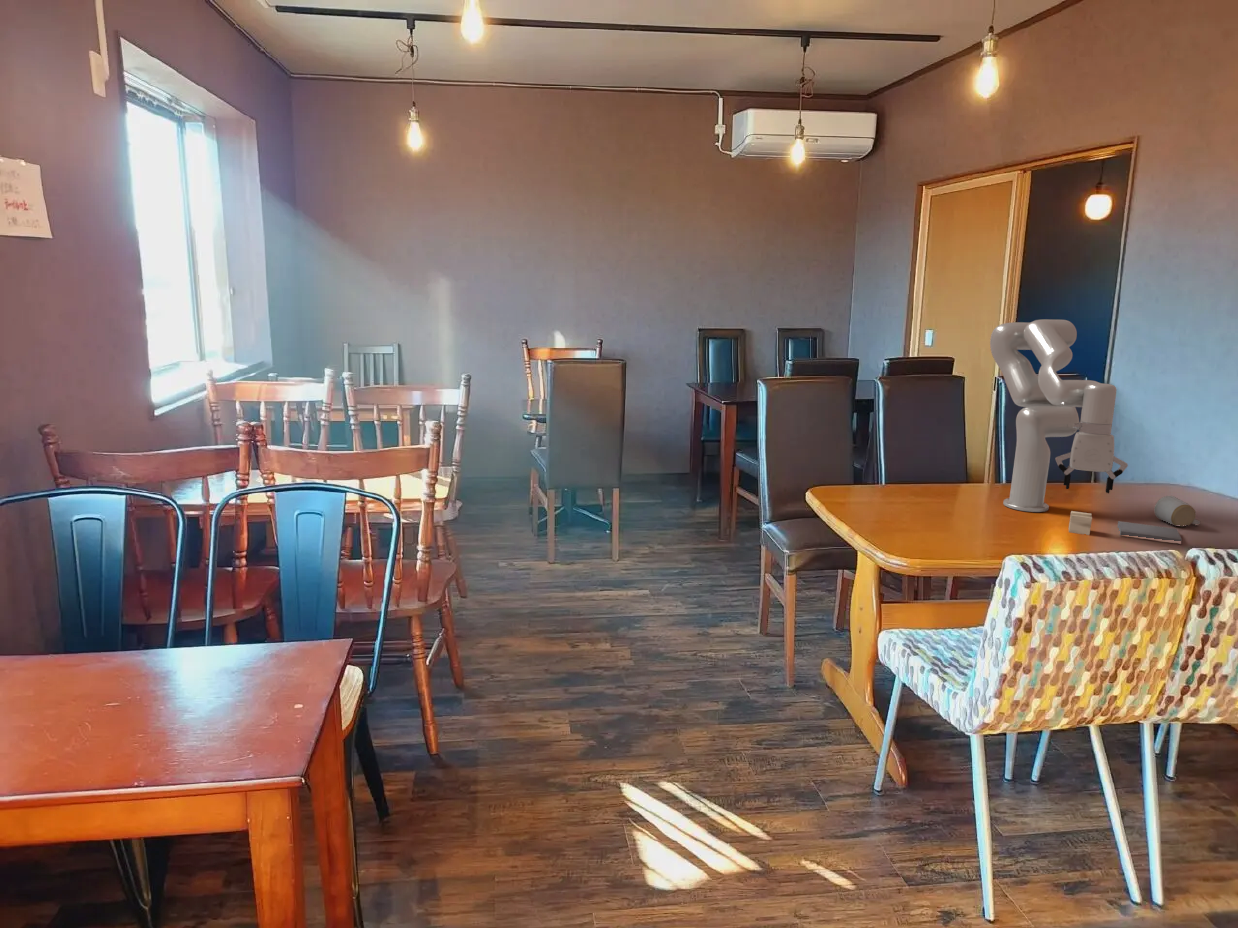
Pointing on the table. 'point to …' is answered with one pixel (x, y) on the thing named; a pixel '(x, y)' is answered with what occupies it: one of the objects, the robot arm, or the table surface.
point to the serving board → (1148, 531)
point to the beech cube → (1080, 523)
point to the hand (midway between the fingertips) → (1087, 490)
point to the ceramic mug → (1175, 511)
